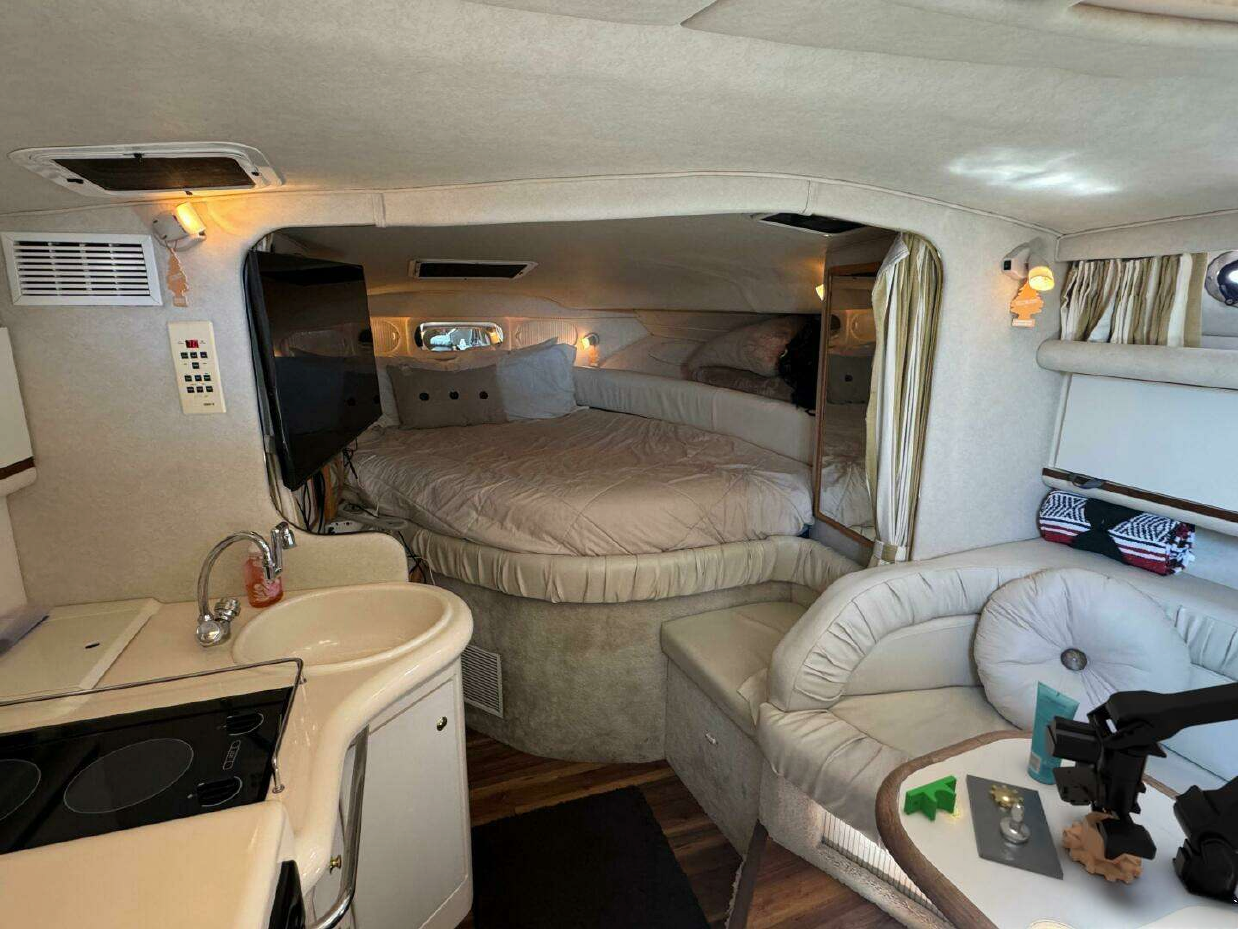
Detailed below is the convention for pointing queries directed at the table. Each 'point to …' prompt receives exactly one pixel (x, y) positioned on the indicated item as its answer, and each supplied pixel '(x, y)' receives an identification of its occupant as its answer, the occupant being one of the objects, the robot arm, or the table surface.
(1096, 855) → the planet gear
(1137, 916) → the table surface
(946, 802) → the pipe clamp
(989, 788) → the carrier plate
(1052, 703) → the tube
